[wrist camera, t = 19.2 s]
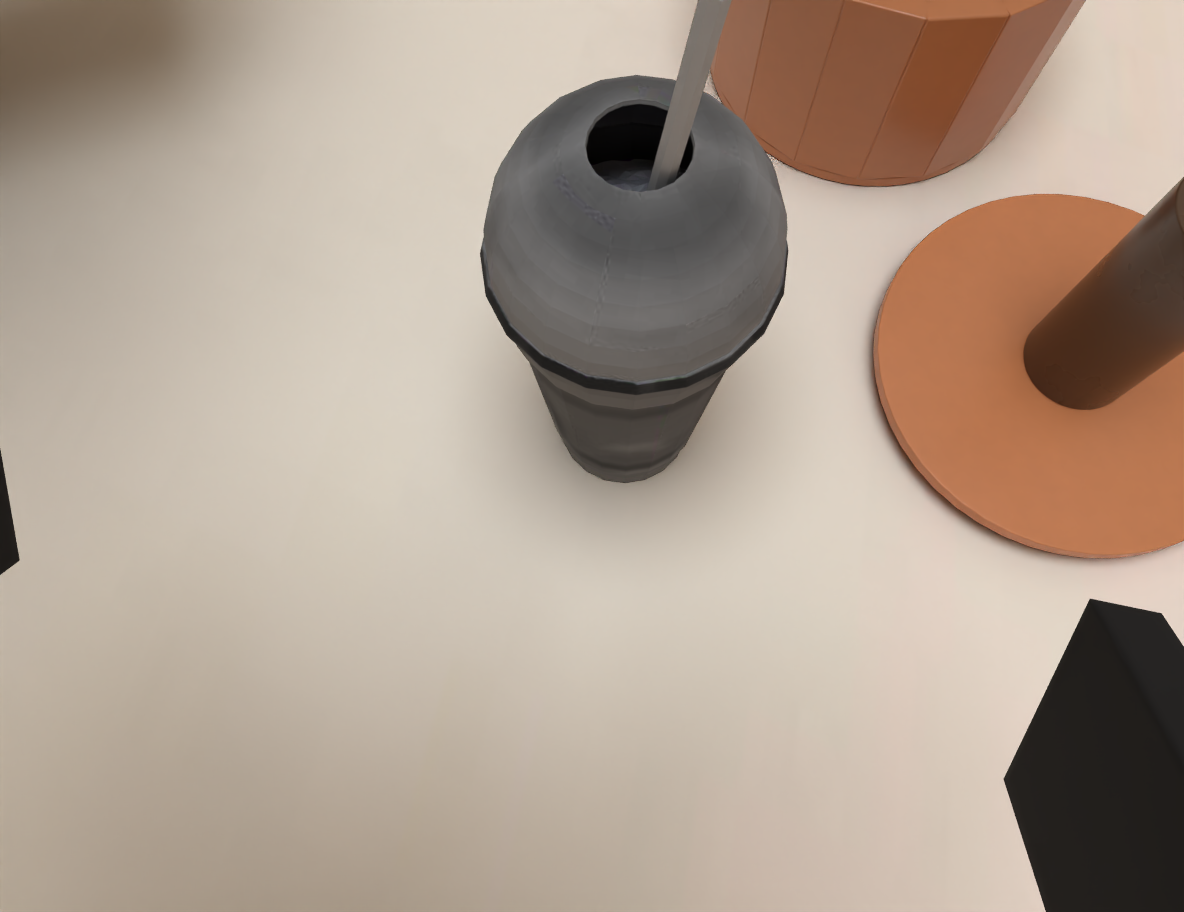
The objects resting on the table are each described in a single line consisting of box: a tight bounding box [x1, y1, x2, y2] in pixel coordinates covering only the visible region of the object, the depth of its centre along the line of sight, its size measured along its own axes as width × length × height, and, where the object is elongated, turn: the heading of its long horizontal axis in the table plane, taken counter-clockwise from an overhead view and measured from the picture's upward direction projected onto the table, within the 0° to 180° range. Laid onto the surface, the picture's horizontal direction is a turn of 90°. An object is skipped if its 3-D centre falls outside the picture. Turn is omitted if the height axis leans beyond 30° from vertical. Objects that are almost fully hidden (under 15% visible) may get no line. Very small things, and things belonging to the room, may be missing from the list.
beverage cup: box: [480, 0, 788, 483], centre depth 23 cm, size 7×7×20 cm
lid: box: [873, 177, 1184, 558], centre depth 28 cm, size 14×14×10 cm
